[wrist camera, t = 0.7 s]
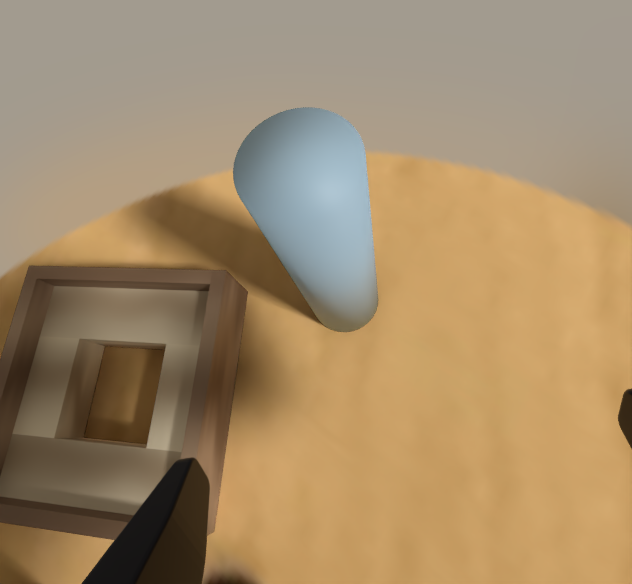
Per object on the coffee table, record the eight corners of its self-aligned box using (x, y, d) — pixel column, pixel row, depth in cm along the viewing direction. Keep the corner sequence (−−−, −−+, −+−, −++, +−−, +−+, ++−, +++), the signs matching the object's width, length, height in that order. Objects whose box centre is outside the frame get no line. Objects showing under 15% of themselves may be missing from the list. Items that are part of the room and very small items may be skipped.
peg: (376, 333, 25) (361, 224, 12) (309, 330, 25) (223, 223, 12) (379, 269, 26) (369, 104, 13) (315, 268, 27) (242, 110, 14)
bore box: (214, 531, 23) (181, 550, 19) (14, 503, 25) (-48, 514, 22) (247, 291, 27) (225, 270, 23) (73, 285, 29) (29, 265, 26)
